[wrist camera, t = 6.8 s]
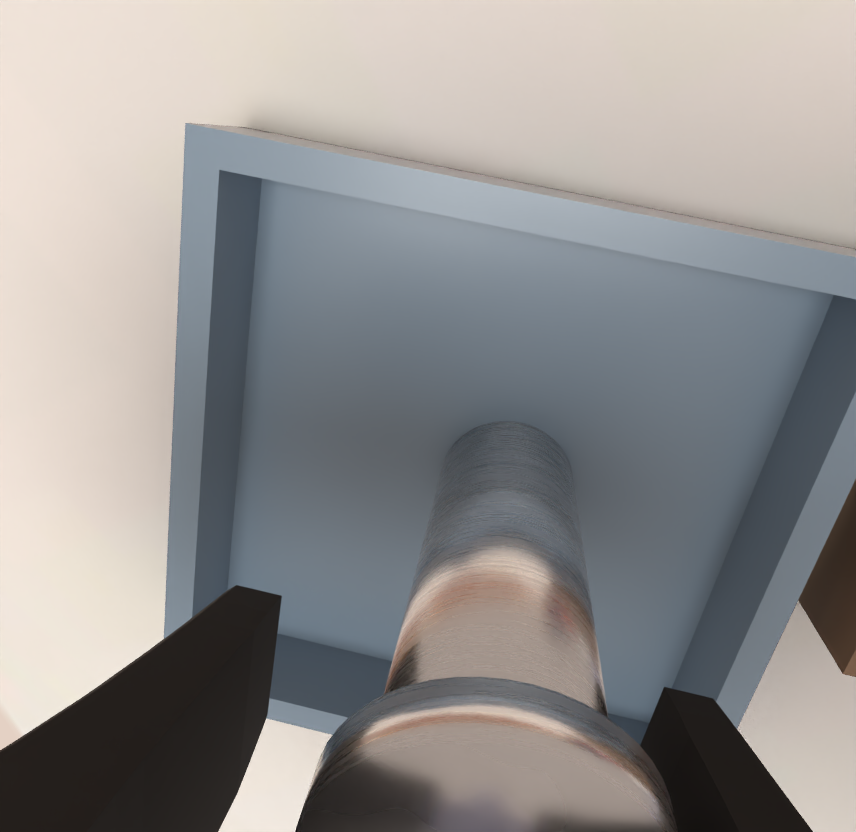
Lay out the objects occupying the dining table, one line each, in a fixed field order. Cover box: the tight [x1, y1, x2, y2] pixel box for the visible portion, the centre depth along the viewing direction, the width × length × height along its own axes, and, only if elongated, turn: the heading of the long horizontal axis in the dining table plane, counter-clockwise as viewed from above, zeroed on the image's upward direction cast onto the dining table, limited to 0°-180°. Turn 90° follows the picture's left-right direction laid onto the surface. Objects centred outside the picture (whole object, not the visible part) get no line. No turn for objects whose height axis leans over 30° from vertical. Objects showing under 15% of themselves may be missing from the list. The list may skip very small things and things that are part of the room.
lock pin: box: [295, 421, 678, 832], centre depth 11 cm, size 4×4×9 cm
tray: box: [164, 123, 856, 745], centre depth 14 cm, size 12×12×2 cm
